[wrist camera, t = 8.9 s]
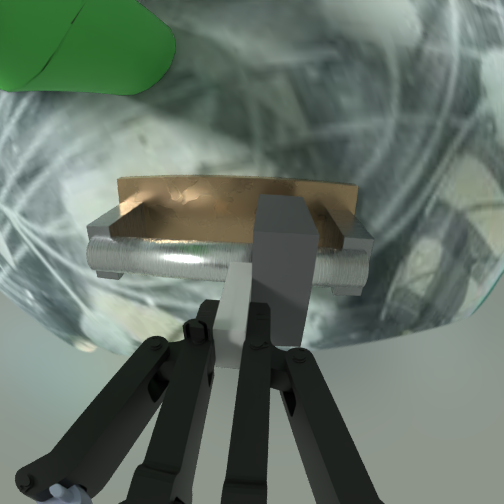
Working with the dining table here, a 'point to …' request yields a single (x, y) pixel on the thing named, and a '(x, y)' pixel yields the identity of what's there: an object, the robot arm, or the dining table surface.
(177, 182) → the pipe stand
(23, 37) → the bottle
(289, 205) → the grey sliding block
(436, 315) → the dining table surface
